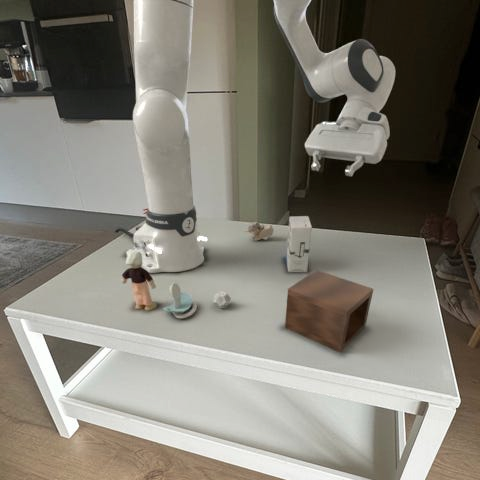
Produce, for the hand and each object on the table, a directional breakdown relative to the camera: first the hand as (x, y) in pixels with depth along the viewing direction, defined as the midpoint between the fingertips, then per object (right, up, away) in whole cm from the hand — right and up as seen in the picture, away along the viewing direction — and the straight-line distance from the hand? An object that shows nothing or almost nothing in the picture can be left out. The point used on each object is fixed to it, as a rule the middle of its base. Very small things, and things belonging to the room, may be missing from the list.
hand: (330, 171), depth 91 cm
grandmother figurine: (-43, -34, -12) cm, 56 cm away
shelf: (-6, -38, -19) cm, 43 cm away
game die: (-26, -34, -12) cm, 45 cm away
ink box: (-8, -23, +4) cm, 24 cm away
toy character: (-17, -12, +19) cm, 29 cm away
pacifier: (-35, -35, -14) cm, 51 cm away
